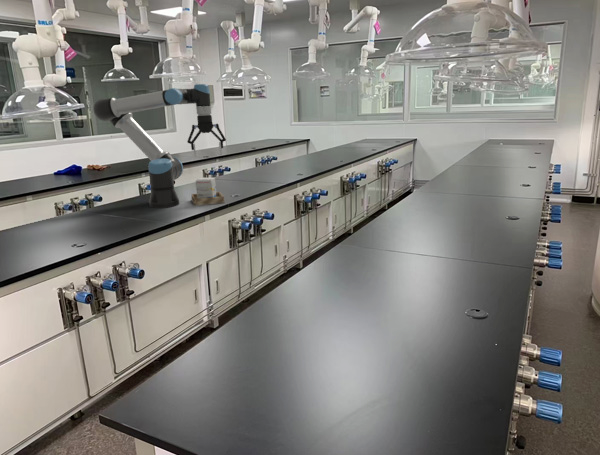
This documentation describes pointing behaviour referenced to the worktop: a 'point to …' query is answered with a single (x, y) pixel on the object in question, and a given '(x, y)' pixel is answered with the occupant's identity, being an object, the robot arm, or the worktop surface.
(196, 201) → the maple tray
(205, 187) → the ink box
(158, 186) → the robot arm
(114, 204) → the worktop surface
